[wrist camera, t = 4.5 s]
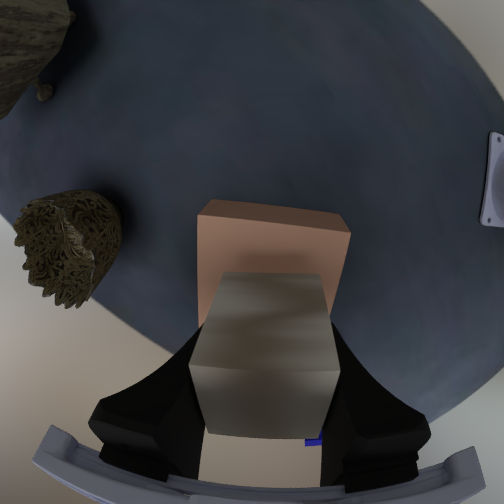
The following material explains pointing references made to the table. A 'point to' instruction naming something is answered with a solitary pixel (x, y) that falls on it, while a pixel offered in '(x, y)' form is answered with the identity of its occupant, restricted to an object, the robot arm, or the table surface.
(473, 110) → the table surface
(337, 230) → the terracotta block
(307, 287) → the ivory block
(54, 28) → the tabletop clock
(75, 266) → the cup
